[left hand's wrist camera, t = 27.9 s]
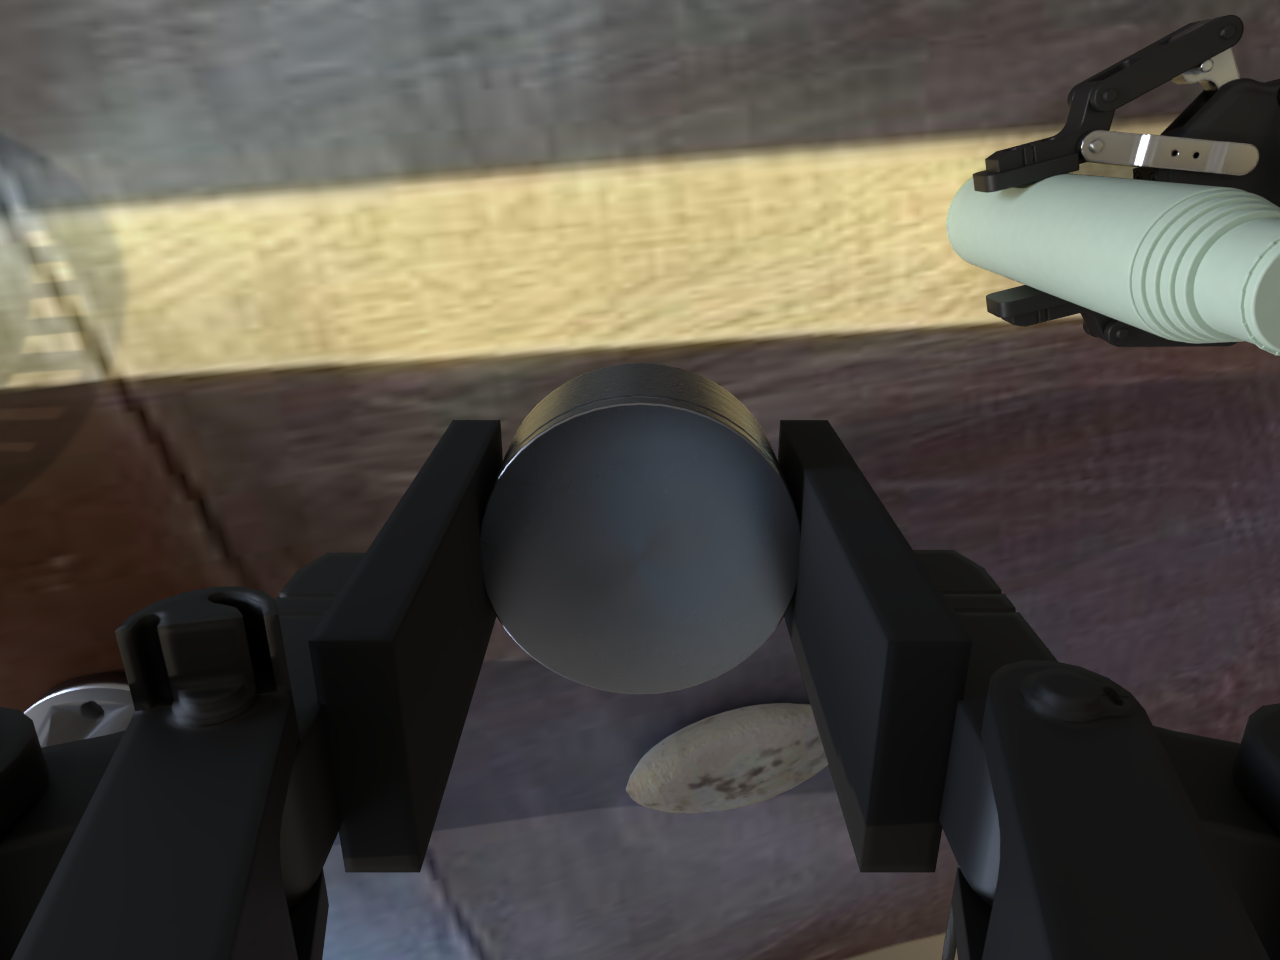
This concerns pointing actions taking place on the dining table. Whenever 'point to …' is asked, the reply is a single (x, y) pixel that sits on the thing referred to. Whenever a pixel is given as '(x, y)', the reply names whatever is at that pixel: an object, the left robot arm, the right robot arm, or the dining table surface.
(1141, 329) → the right robot arm
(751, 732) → the decorative stone
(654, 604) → the cap
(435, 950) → the dining table surface
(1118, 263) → the bottle
